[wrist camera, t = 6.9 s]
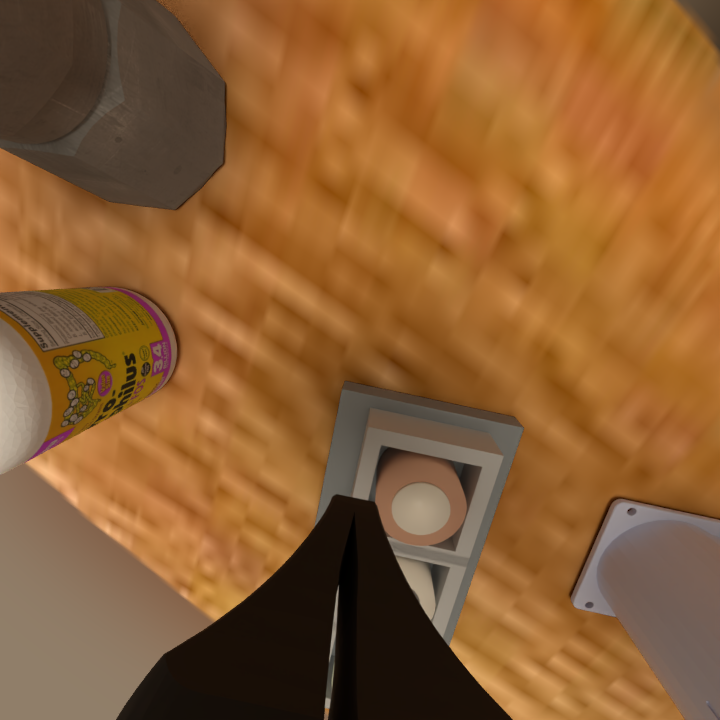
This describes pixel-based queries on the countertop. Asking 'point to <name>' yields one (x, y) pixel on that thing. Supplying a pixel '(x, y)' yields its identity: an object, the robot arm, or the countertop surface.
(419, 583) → the ivory button
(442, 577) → the button board
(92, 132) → the coffeepot
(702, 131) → the countertop surface
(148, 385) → the supplement bottle
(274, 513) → the countertop surface
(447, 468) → the terracotta button
